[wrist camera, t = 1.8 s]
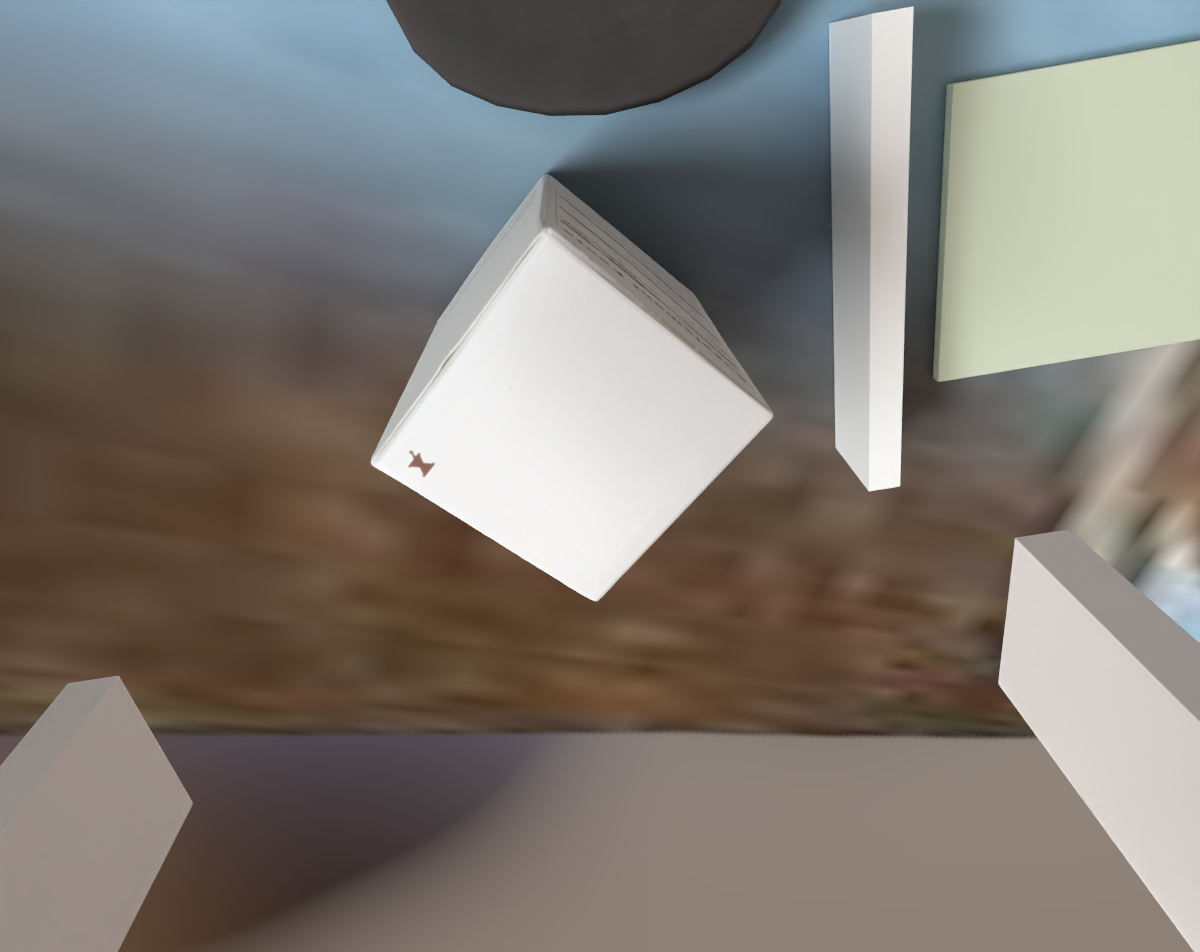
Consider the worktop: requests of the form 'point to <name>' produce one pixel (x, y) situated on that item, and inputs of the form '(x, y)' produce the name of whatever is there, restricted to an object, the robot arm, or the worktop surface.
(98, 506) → the worktop surface
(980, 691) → the worktop surface
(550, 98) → the casserole
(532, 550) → the supplement box
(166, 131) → the worktop surface
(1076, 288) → the sage mat
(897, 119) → the acrylic wall
